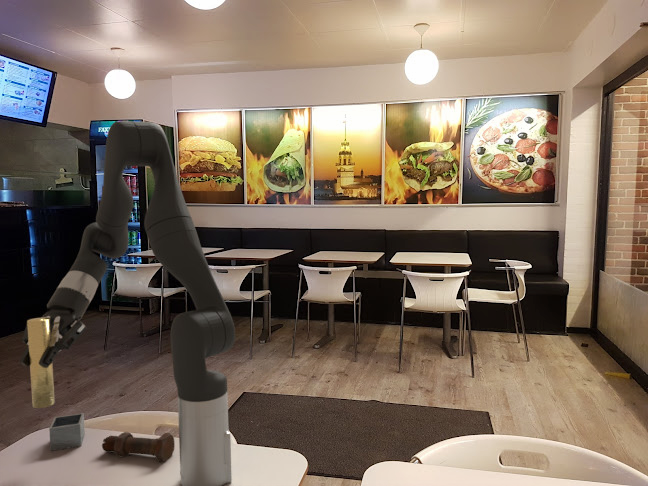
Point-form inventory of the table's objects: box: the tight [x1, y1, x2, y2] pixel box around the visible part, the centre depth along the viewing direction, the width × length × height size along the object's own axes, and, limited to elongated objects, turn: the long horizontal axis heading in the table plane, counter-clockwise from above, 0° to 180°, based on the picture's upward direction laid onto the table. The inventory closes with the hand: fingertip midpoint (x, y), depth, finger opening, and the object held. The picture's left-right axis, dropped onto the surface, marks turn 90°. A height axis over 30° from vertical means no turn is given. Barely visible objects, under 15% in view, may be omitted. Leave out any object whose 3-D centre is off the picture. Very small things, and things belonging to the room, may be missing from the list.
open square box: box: [48, 412, 86, 452], centre depth 108 cm, size 6×6×5 cm
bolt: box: [101, 431, 176, 463], centre depth 103 cm, size 6×5×15 cm
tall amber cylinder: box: [26, 317, 56, 409], centre depth 100 cm, size 4×4×18 cm
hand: (33, 364), depth 98 cm, fingers closed on tall amber cylinder, 4 cm apart
